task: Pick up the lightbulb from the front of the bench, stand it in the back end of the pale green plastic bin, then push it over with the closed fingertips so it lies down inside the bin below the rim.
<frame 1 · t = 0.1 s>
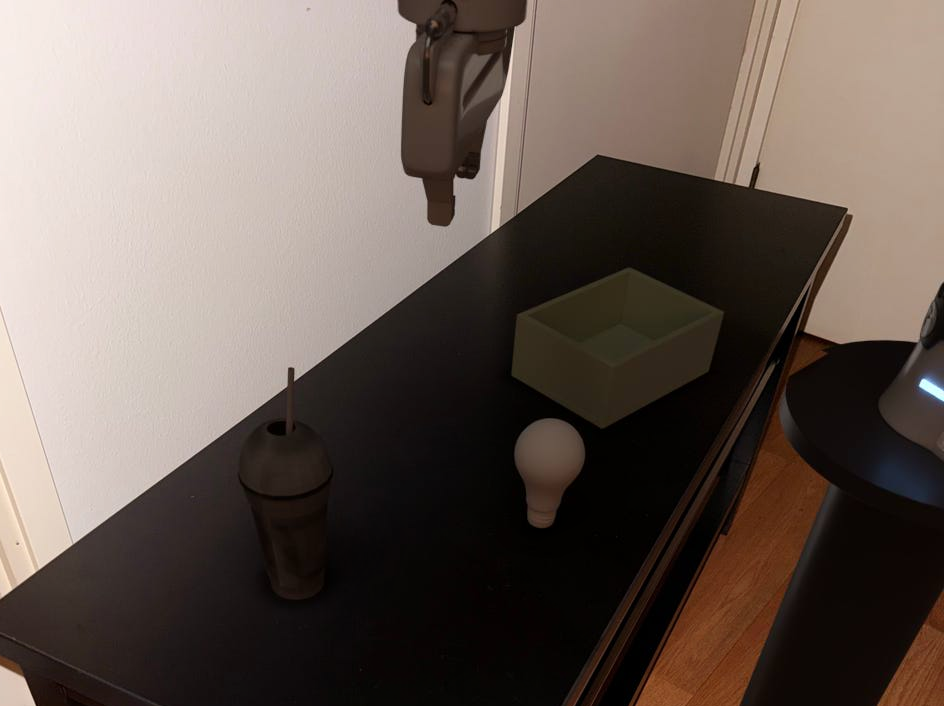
hand: (454, 198, 73), 26 cm above the table, tool pointing down, fingers open, 8 cm apart
bin: (611, 373, 107), on the table
beverage cup: (297, 583, 81), on the table
lightbulb: (539, 527, 88), on the table
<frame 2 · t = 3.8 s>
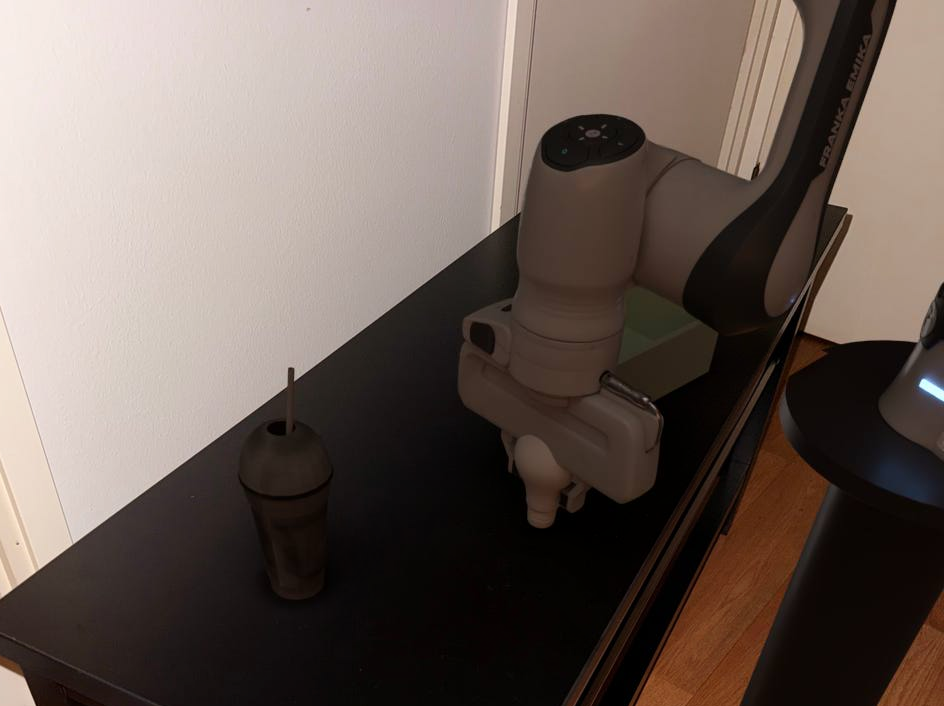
hand: (544, 489, 85), 4 cm above the table, tool pointing down, fingers closed on lightbulb, 5 cm apart
lightbulb: (539, 527, 88), on the table, touching gripper
everything else where it was.
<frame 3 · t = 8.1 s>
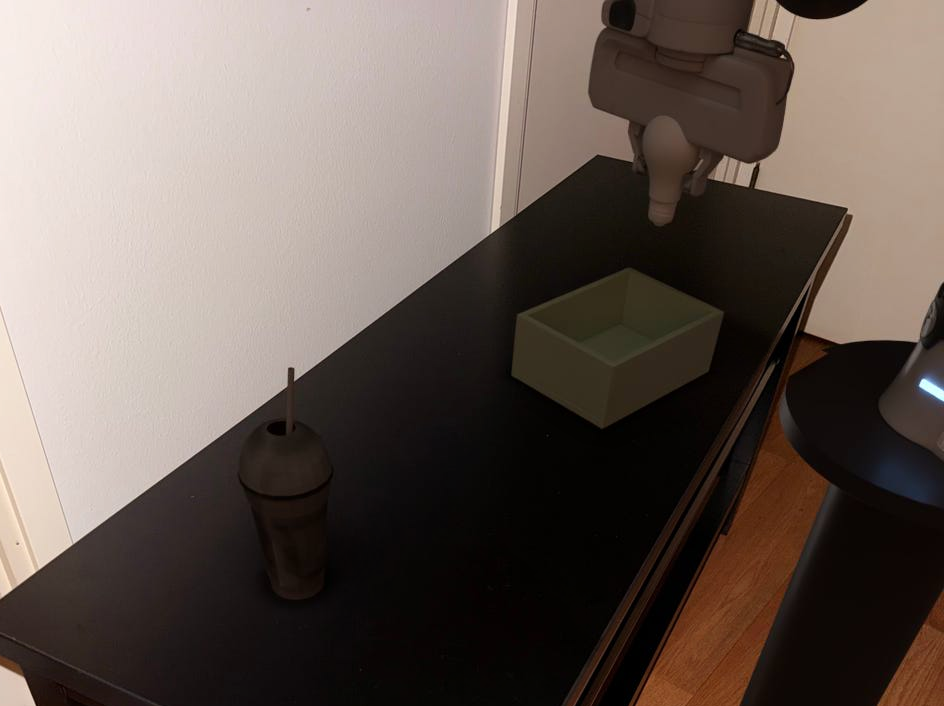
hand: (666, 182, 93), 21 cm above the table, tool pointing down, fingers closed on lightbulb, 5 cm apart
lightbulb: (658, 227, 96), point 16 cm above the table, touching gripper
everything else where it was.
when the fingers open (5 cm above the table, at t = 12.3 s): lightbulb stays where it is, resting on bin.
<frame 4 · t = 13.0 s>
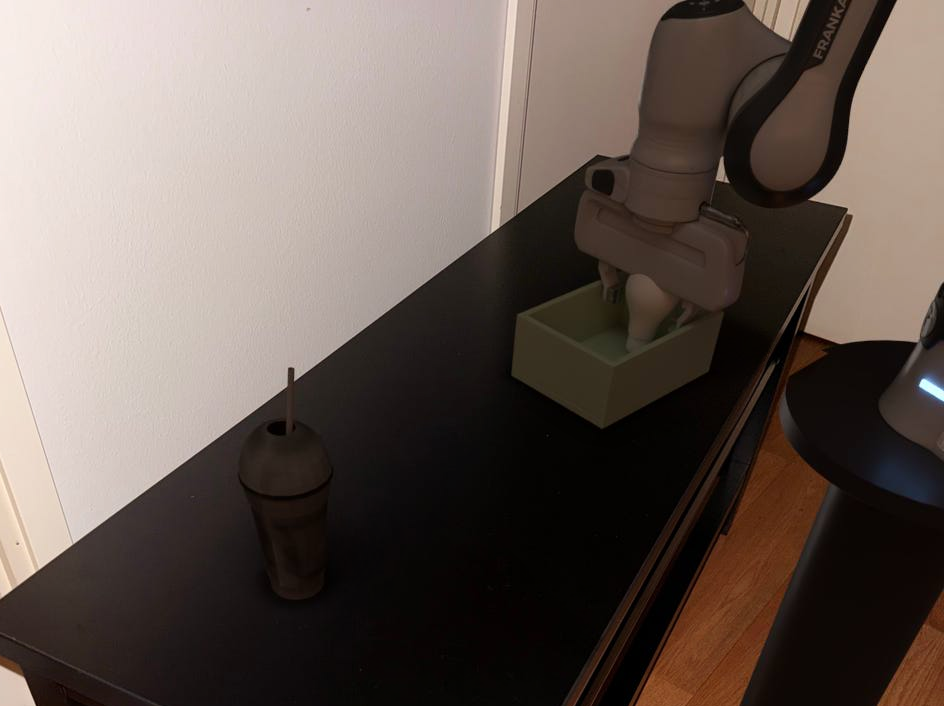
hand: (643, 317, 105), 6 cm above the table, tool pointing down, fingers open, 8 cm apart
lightbulb: (634, 356, 108), point 1 cm above the table, touching bin
everything else where it was.
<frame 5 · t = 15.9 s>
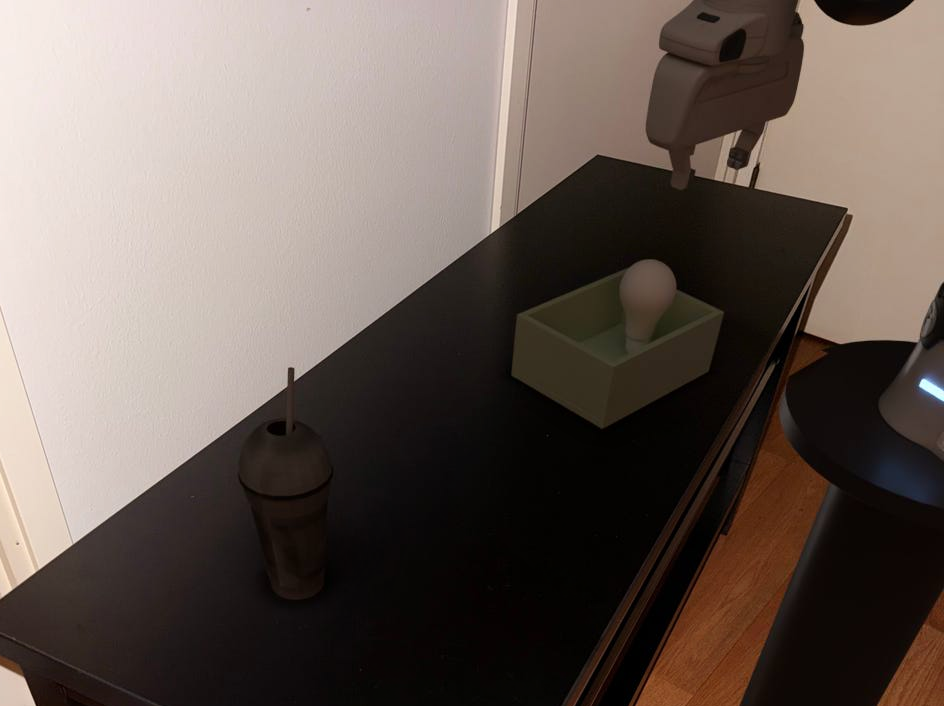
hand: (709, 177, 99), 19 cm above the table, tool pointing down, fingers open, 8 cm apart
nothing on the table moved.
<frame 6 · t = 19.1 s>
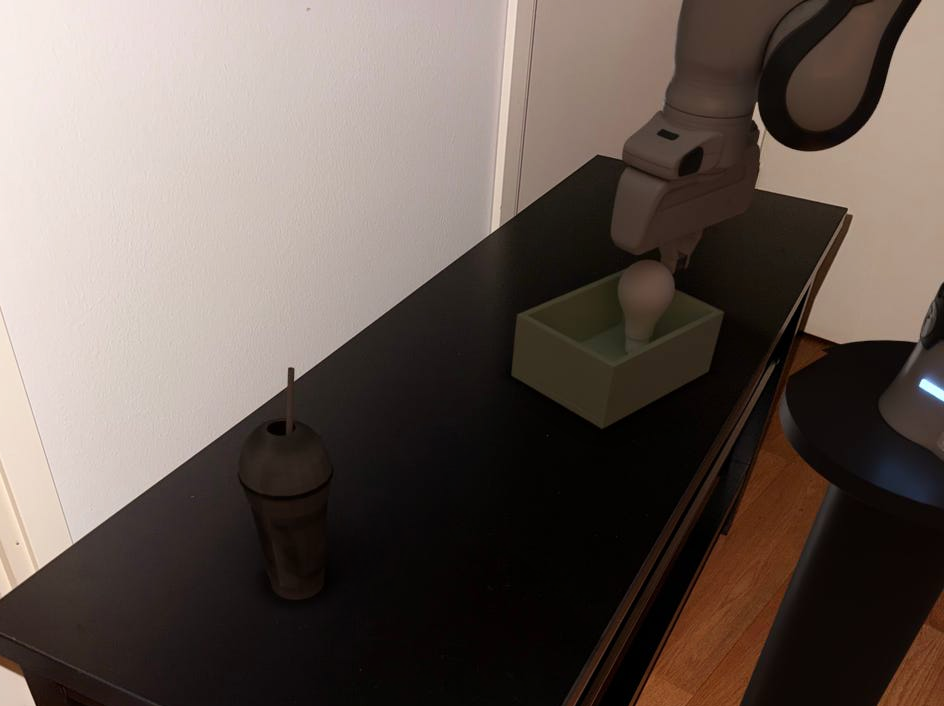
hand: (672, 270, 104), 10 cm above the table, tool pointing down, fingers closed
lightbulb: (634, 356, 108), point 1 cm above the table, touching bin, gripper
everything else where it was.
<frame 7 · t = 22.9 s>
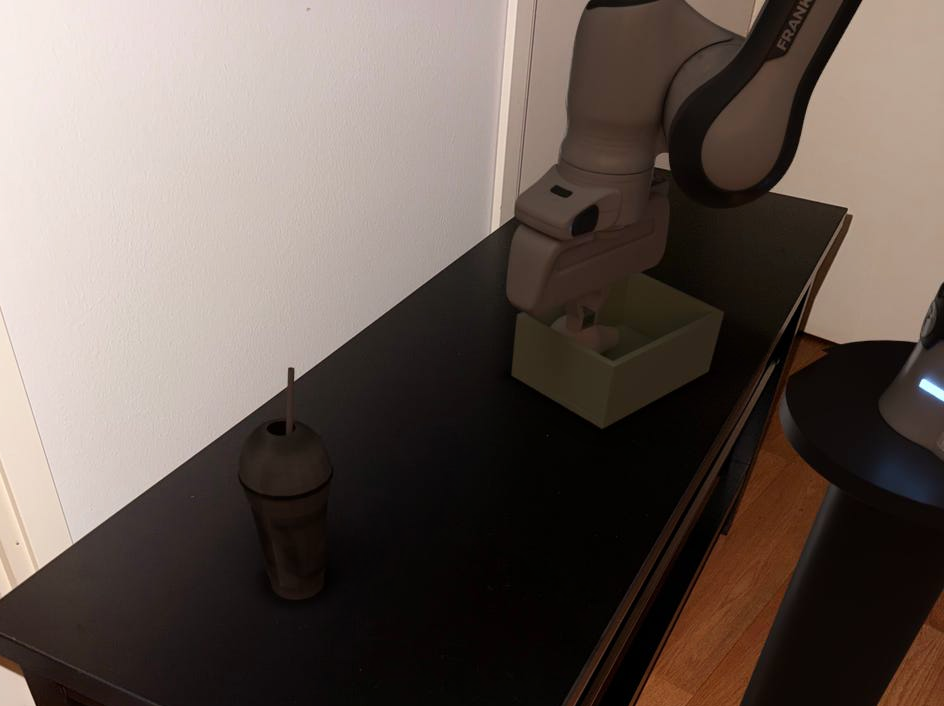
hand: (580, 327, 98), 8 cm above the table, tool pointing down, fingers closed
lightbulb: (615, 337, 109), point 2 cm above the table, touching bin
everything else where it was.
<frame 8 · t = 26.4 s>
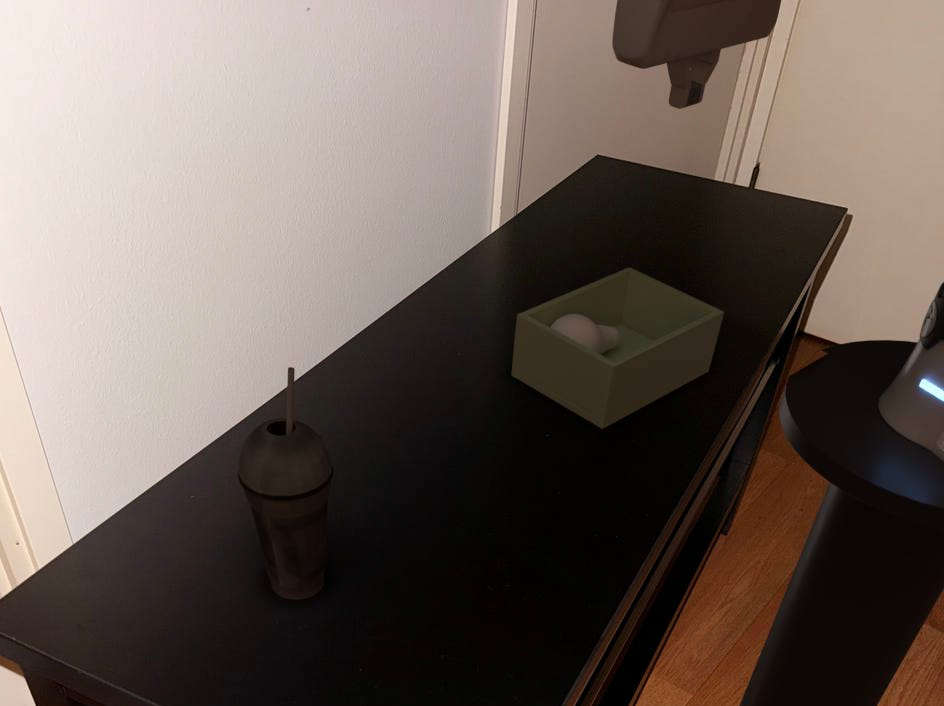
hand: (684, 104, 89), 27 cm above the table, tool pointing down, fingers closed
nothing on the table moved.
at the end: lightbulb inside the target area in the bin (4.8 cm from its centre), point 2.0 cm above the bin's base; lightbulb tilted 76° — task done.
